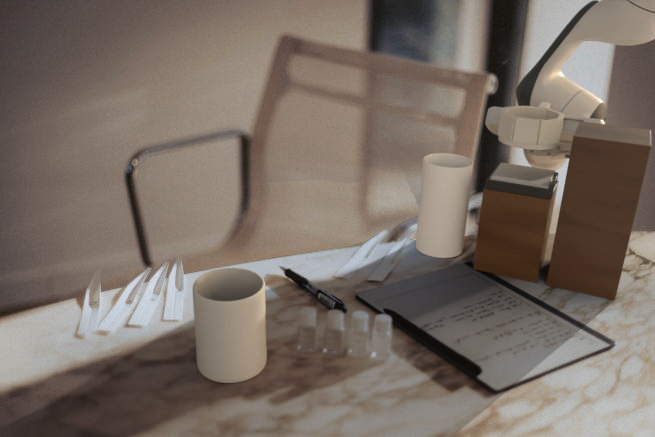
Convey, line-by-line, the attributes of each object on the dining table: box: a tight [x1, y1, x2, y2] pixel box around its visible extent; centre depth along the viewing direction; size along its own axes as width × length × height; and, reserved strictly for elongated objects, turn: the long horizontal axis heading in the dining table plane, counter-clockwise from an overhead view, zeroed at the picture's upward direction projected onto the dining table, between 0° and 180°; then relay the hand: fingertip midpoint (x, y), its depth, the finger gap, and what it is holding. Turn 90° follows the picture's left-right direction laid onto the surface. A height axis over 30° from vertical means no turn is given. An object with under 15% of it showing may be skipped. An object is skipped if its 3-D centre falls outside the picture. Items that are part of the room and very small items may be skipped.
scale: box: [484, 161, 559, 199], centre depth 98 cm, size 10×10×2 cm
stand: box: [472, 121, 652, 301], centre depth 97 cm, size 10×22×24 cm, turn 65°
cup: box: [415, 152, 474, 259], centre depth 106 cm, size 8×8×16 cm
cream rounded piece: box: [496, 102, 565, 150], centre depth 100 cm, size 22×9×4 cm, turn 155°
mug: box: [192, 267, 268, 384], centre depth 76 cm, size 12×8×11 cm
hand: (541, 113), depth 106 cm, fingers closed on cream rounded piece, 2 cm apart
